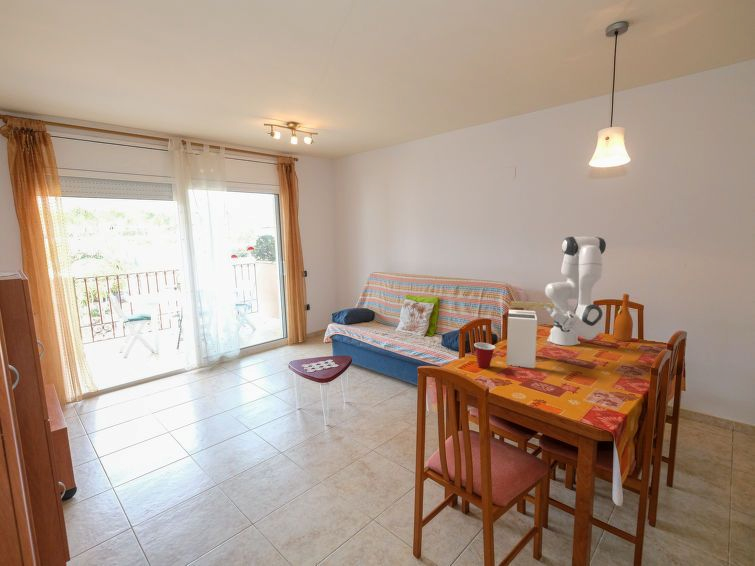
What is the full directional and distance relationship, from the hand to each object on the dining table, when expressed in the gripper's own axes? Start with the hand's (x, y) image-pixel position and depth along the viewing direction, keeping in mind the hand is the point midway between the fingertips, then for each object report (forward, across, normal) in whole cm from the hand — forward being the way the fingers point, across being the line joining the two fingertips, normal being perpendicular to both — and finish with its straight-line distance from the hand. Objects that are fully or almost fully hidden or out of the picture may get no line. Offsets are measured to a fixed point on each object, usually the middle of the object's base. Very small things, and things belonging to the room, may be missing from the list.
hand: (543, 305), depth 195 cm
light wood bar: (+4, 0, +4) cm, 6 cm away
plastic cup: (+10, +22, +41) cm, 48 cm away
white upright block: (-6, +6, +32) cm, 33 cm away
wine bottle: (-60, -54, +1) cm, 81 cm away
